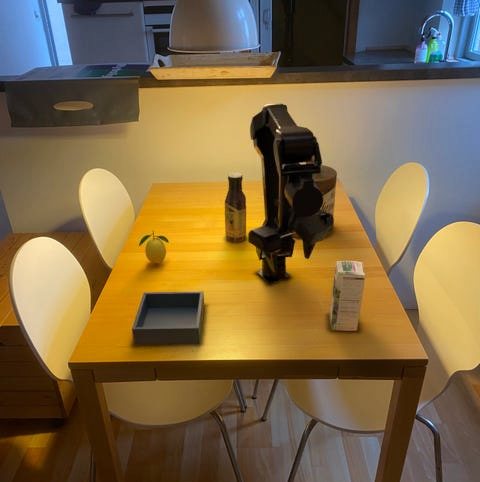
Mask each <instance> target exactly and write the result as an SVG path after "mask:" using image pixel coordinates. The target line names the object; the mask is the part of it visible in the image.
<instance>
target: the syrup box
mask: <svg viewBox="0 0 480 482" xmlns="http://www.w3.org/2000/svg"><path fill="white" fill-rule="evenodd" d="M365 271H366V270H365V267H364V263H363V262H362V261H355V260H336V261H335V268H334V274H333V275H334V276H333V284H332V291H331V297H330V298H331V301H330V308H329V324H330V330H331V331H347V332H350V331H351V332H352V331H353V332H355V331H358V327H359V320H360V314H361V306H362V300H363V293H364V288H365V282H366V272H365Z"/></svg>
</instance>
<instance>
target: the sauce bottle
mask: <svg viewBox="0 0 480 482" xmlns="http://www.w3.org/2000/svg"><path fill="white" fill-rule="evenodd" d="M227 180H228V191H227V193H226V196H225V199H224V229H225V231H224V232H225V238H226V239H227V241H230V242H233V243H234V242H235V243H236V242H242V241H244V240H246V237H247V236H246V235H247V197H246V194H245V192H243V174H242V173H241V172H230V173H229V174H228V175H227Z"/></svg>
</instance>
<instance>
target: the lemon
mask: <svg viewBox="0 0 480 482" xmlns="http://www.w3.org/2000/svg"><path fill="white" fill-rule="evenodd" d="M151 236H152V238H151ZM150 238H151V239H150ZM148 239H149V240H148ZM147 240H148V241H147ZM146 241H147V242H146ZM145 242H146V244H145V250H144V251H145V252H144V253H145V256H146V258H147V260H148V261H149V262H151V263H155V264H159V263H161V262H162V261H164V260H165V258H166V255H167V248H166V245H165V244H164V242H165V243H170V242H169V239H168V237H166V236H165V235H155V231H154V230H152V234H147V235H144V236H143V237H142V238H141V239H140V241H139V243H138V247H140V246H142V245H143V244H144V243H145Z"/></svg>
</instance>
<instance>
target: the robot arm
mask: <svg viewBox="0 0 480 482" xmlns="http://www.w3.org/2000/svg"><path fill="white" fill-rule="evenodd" d="M249 135H250V140H251V141H252V143H253V144H252V145H253V149H254V150H255V152H256V153H257V154H258V156H259V158H260V161H261V175H262V176H261V177H262V178H261V179H262V190H263V193H262V194H263V207H264V221H263V222H262V224H261V226H258V227H255V228H252V229H251V230H249V231H248V233H247V234H248V235H247V241H248V244H250V245H252V246H254V247H255V252H256V255H257V257H258V260H259V261H261V269H260V270H257V271H256V274H257V275H258V276H259V277H261V278H262V279H263V280H264V281H265V282H266V283H267V284H270V285H271V284H274V283H277V282H280V281H283V280H286V279H289V278H291V274H289V273H288V272H287V264H286V263H287V262H286V261H287V258H293V255H294V249H295V245H296V240H295V237H293V235H292V234H293V233H297V235H298V236H299V237H300V238H299V239H301V240H302V250H303V251H302V252H303V256H304V258H305V259H306V260H309V259H310V258H311V255H312V253H313V251H314V249H315V247H316V244H317V243H320V242H323V241H324V240H325V238H326V236H325V235H326V233H329V232H331V233H332V232H333V228H334V224H335V223H334V222H335V221H334V220H335V218H334V215H332V214H331V213H330V212H328V213H327V212H325V211H323V210H320V209H321V207H322V205H323V196H322V193H321V191H320V190H319V189H318V187H317V186H316V185H315V184H314V180H313V178H312V176H313V174H316V173H321V169H320V166H321V165H323V159H322V154H321V149H320V144H319V142H318V140H317V139H318V138H317V137H316V136H315V135H314V132H313V131H312V130H311V129H310V128H308V127H304V126H299V125H298V124H297V123H296V122H295V120H294V118H293V117H292V116H291V114H290V113H289V110H288V106H287V104H283V103H270V104H269V103H268V104H265V105H263V106H262V107H261V111H259V112H258V113H256V114H255V115H253V116H252V117H251V122H250V125H249ZM311 161H313V164H306V162H311ZM303 163H304V164H303Z"/></svg>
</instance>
